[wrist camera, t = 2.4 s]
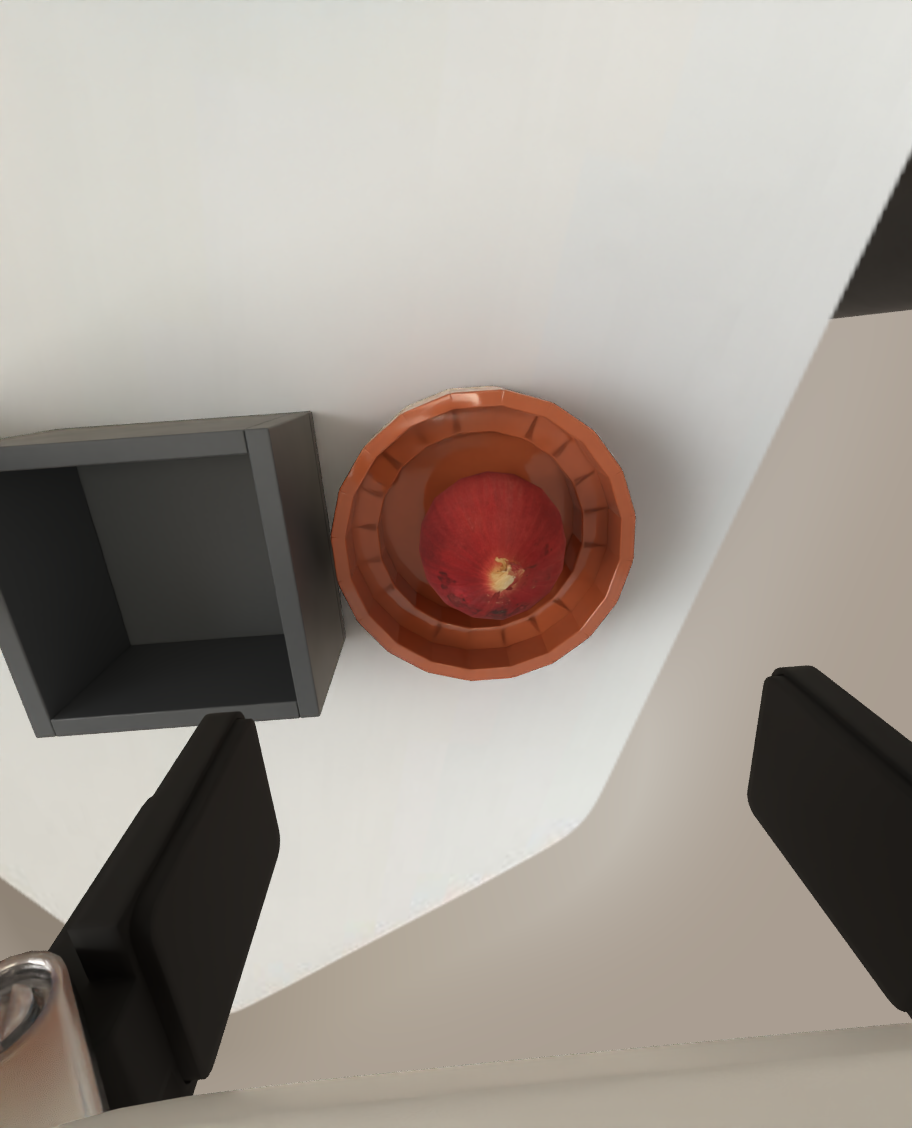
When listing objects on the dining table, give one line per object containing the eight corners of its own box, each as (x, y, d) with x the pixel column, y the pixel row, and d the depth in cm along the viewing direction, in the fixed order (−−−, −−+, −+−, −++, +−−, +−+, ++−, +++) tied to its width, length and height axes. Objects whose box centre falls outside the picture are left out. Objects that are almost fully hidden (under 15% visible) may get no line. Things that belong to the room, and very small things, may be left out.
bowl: (610, 376, 24) (643, 379, 20) (602, 628, 28) (628, 669, 24) (329, 396, 24) (309, 402, 20) (364, 646, 28) (353, 690, 24)
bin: (311, 411, 24) (268, 427, 18) (346, 637, 28) (320, 717, 21) (55, 429, 24) (-80, 452, 17) (125, 654, 27) (35, 738, 21)
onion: (535, 583, 26) (575, 670, 19) (417, 574, 26) (409, 659, 19) (555, 464, 25) (607, 508, 17) (427, 452, 24) (423, 491, 17)
